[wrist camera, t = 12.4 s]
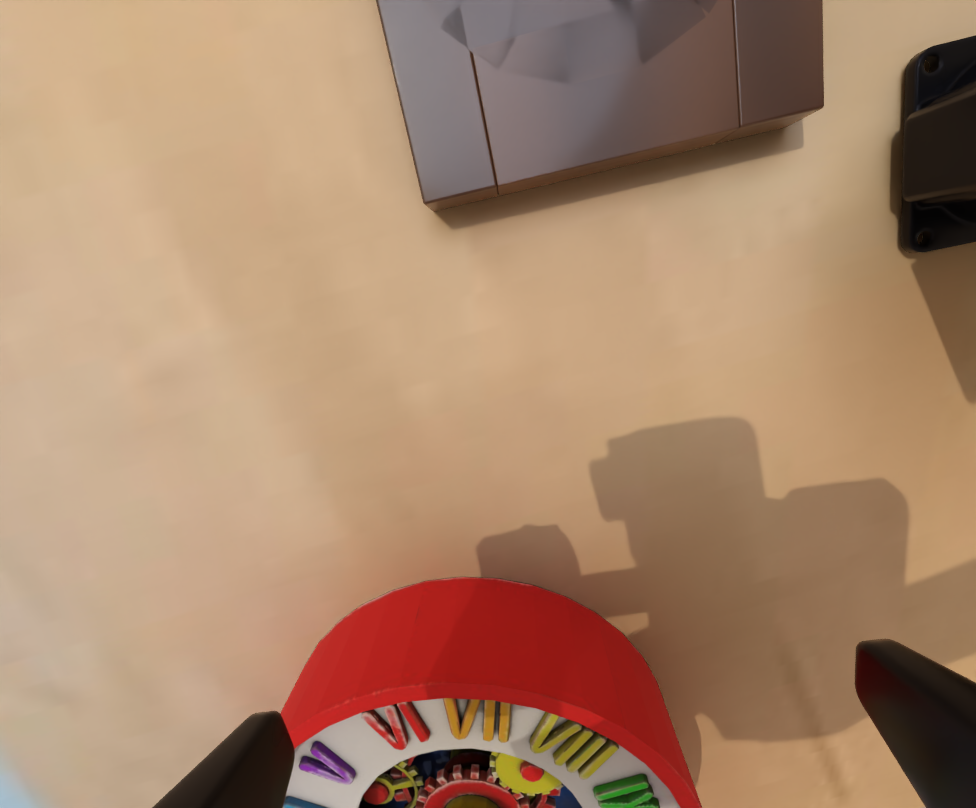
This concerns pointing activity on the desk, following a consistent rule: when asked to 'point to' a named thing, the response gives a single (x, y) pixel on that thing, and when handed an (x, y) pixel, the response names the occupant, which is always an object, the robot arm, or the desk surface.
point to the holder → (590, 84)
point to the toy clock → (480, 707)
